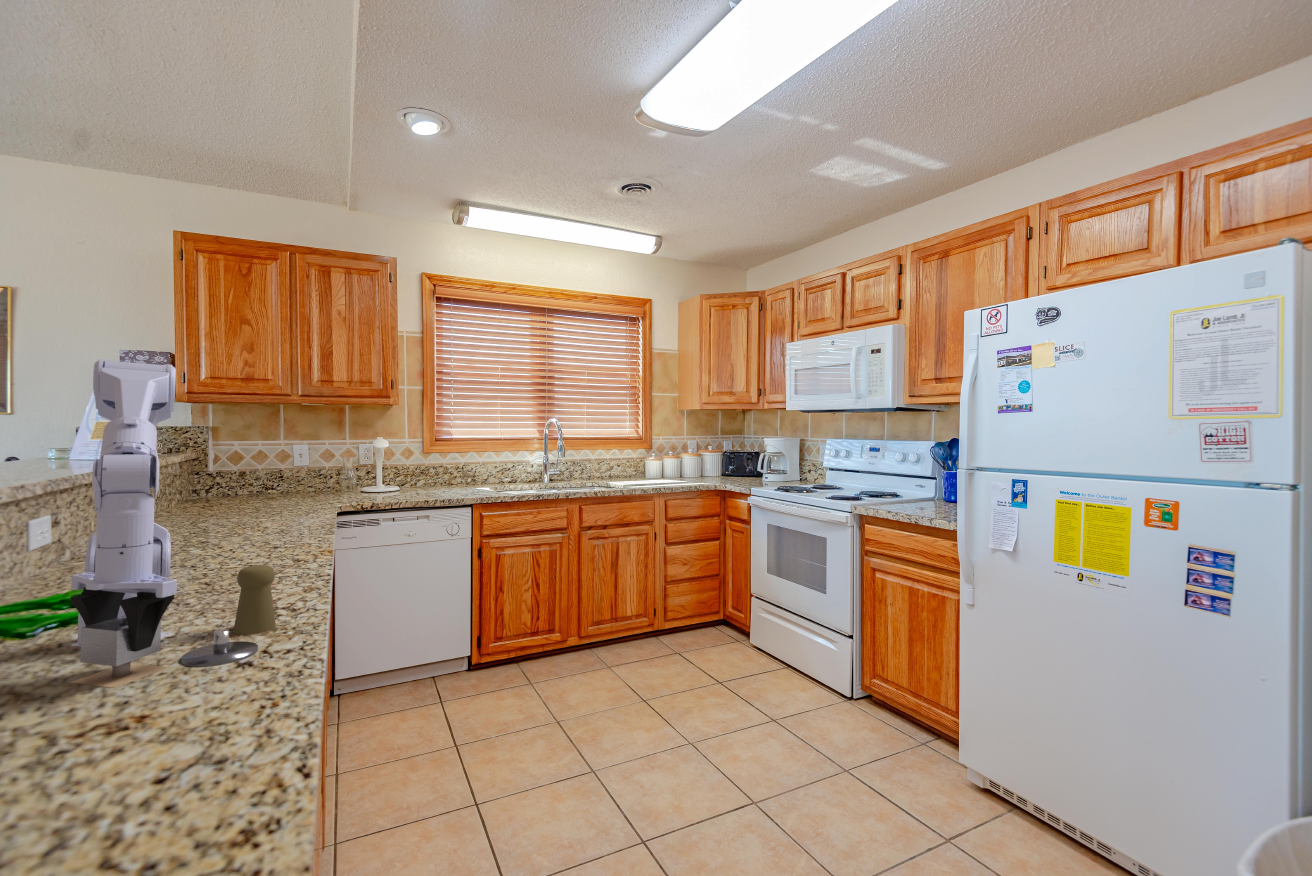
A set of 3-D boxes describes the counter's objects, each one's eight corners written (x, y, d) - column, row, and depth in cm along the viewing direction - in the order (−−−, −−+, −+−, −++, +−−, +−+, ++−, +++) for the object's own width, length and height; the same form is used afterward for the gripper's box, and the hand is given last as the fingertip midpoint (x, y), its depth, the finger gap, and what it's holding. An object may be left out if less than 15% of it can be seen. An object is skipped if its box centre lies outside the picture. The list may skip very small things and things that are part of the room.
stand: (69, 686, 76) (70, 658, 76) (127, 666, 83) (127, 640, 83) (114, 692, 74) (115, 663, 74) (169, 671, 81) (169, 645, 81)
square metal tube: (80, 662, 76) (81, 627, 76) (126, 647, 82) (127, 614, 82) (116, 666, 75) (117, 631, 75) (160, 650, 81) (161, 617, 81)
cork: (254, 640, 94) (256, 570, 95) (222, 636, 96) (224, 568, 96) (285, 628, 100) (287, 563, 100) (255, 625, 102) (256, 561, 102)
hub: (164, 667, 83) (165, 638, 83) (222, 645, 92) (222, 619, 92) (219, 673, 81) (220, 644, 81) (272, 650, 90) (273, 624, 90)
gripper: (45, 546, 76) (42, 652, 76) (139, 553, 73) (136, 663, 73) (105, 537, 83) (102, 634, 83) (193, 543, 80) (190, 643, 80)
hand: (122, 646), depth 79 cm, fingers closed on square metal tube, 6 cm apart
